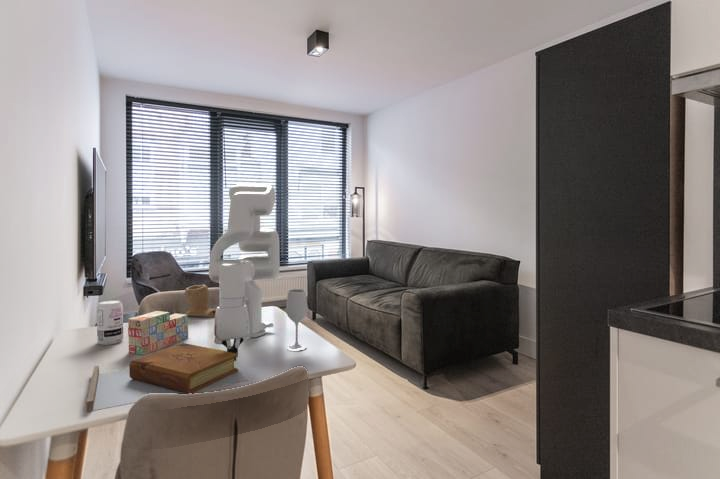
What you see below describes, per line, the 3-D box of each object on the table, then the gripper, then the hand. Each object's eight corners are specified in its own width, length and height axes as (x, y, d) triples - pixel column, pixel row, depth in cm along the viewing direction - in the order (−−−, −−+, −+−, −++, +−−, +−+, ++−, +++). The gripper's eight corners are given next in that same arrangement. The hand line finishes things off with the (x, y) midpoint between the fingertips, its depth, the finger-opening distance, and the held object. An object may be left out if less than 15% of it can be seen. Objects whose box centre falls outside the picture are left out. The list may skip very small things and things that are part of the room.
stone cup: (179, 317, 185) (179, 285, 185) (197, 312, 197) (197, 282, 196) (206, 320, 181) (205, 288, 180) (222, 314, 192) (222, 284, 191)
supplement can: (105, 338, 152) (104, 300, 151) (127, 338, 152) (126, 300, 152) (92, 345, 144) (91, 304, 143) (116, 345, 144) (115, 304, 143)
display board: (227, 354, 137) (227, 346, 136) (247, 381, 114) (247, 371, 114) (94, 375, 117) (94, 366, 117) (87, 412, 95) (86, 401, 95)
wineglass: (299, 343, 148) (299, 288, 147) (311, 348, 143) (311, 290, 142) (281, 348, 143) (281, 290, 142) (294, 353, 138) (294, 293, 137)
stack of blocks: (175, 336, 156) (175, 305, 156) (188, 338, 154) (188, 306, 154) (128, 353, 136) (127, 318, 136) (142, 355, 134) (141, 319, 133)
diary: (129, 380, 113) (129, 360, 113) (183, 360, 130) (183, 342, 130) (187, 395, 104) (187, 374, 104) (237, 371, 121) (237, 352, 120)
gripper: (252, 298, 131) (252, 352, 132) (204, 302, 123) (205, 360, 124) (259, 302, 124) (259, 359, 125) (209, 307, 117) (209, 368, 118)
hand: (232, 359), depth 125 cm, fingers closed
